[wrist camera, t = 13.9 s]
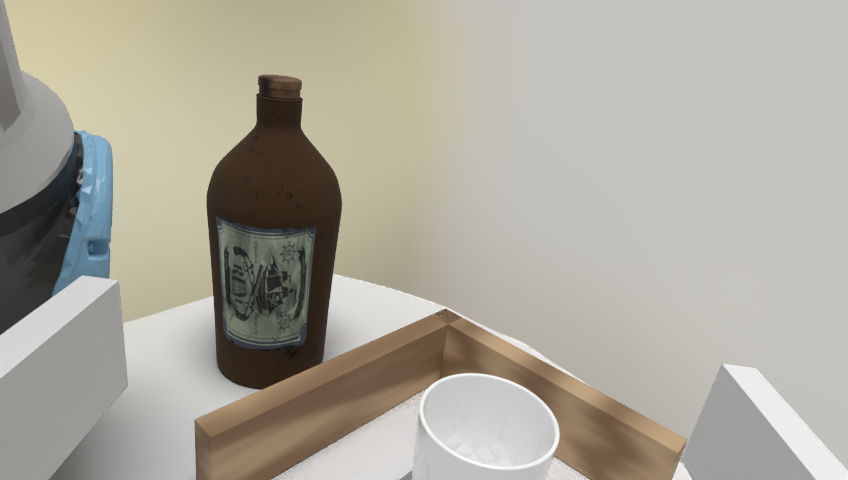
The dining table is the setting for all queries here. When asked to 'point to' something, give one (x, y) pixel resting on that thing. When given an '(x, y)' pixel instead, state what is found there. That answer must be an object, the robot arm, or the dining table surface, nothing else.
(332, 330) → the dining table surface
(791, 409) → the robot arm
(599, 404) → the corner pen
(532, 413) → the white cup
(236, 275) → the brown bottle
